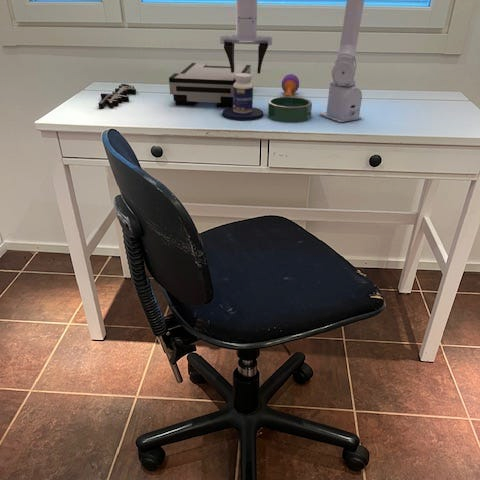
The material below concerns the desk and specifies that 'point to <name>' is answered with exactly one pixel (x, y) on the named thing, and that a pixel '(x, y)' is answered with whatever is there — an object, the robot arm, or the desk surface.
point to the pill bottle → (242, 93)
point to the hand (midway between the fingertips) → (245, 72)
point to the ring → (289, 109)
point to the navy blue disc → (253, 115)
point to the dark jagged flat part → (117, 96)
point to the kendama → (290, 85)
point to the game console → (205, 84)
